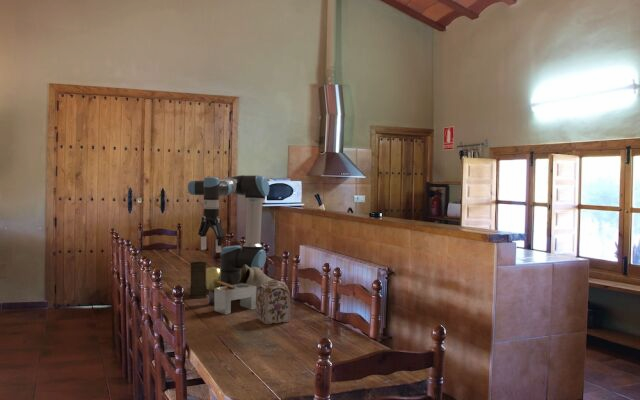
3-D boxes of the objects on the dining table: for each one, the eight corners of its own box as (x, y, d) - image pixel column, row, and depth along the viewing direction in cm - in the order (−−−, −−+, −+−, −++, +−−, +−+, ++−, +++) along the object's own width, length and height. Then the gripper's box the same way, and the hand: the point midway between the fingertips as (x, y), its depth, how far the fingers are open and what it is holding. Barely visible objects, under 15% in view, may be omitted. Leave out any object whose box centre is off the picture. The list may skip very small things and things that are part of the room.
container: (202, 298, 288) (202, 264, 287) (186, 297, 289) (186, 263, 289) (209, 295, 296) (209, 262, 296) (193, 294, 298) (194, 261, 297)
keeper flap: (228, 287, 266) (228, 284, 266) (234, 288, 262) (235, 286, 262) (216, 282, 261) (217, 279, 261) (223, 284, 257) (224, 281, 257)
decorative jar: (265, 324, 240) (265, 283, 239) (255, 318, 250) (256, 279, 249) (290, 322, 245) (291, 281, 244) (280, 315, 255) (280, 277, 255)
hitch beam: (244, 305, 276) (245, 283, 275) (256, 308, 269) (256, 285, 269) (214, 310, 263) (214, 287, 262) (225, 314, 256) (225, 290, 256)
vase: (287, 269, 304) (239, 259, 294) (302, 269, 285) (251, 258, 274) (280, 309, 300) (230, 300, 289) (294, 312, 280) (242, 302, 270)
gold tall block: (215, 302, 281) (215, 266, 280) (223, 304, 276) (223, 268, 275) (203, 304, 276) (203, 268, 275) (211, 306, 271) (211, 270, 270)
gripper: (191, 207, 280) (191, 248, 281) (218, 209, 262) (218, 254, 263) (204, 206, 286) (204, 247, 286) (231, 209, 268) (231, 253, 268)
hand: (210, 250), depth 275 cm, fingers open, 13 cm apart
